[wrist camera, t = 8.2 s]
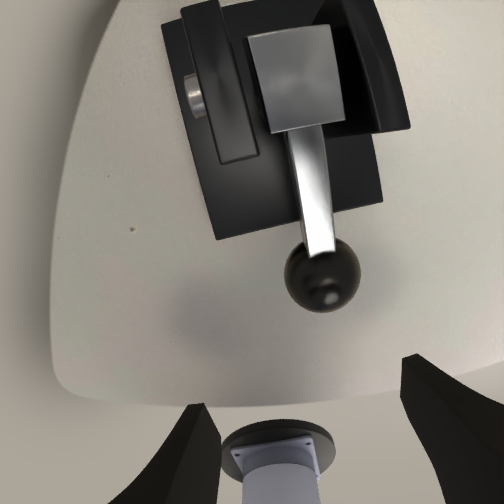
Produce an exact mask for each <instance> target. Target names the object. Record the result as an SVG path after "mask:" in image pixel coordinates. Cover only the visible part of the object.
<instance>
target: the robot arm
mask: <svg viewBox="0 0 504 504" xmlns="http://www.w3.org/2000/svg"><path fill="white" fill-rule="evenodd" d="M400 398H401V401H402V403H403V406H404V409H405V411H406V414H407V416H408V419H409V421H410V423H411V424H412V426H413V428H414V430H415V432H416V434H417V436H418V438H419V440H420V441H421V443H422V445H423V447H424V449H425V451H426V453H427V455H428V457H429V458H430V460H431V462H432V464H433V467H434V469H435V471H436V475H437V477H438V480H439V483H440V486H441V489H442V492H443V496H444V499H445V503H446V504H504V405H503V404H501V403H499V402H496V401H494V400H492V399H489V398H487V397H485V396H483V395H481V394H479V393H478V392H476V391H474V390H472V389H470V388H468V387H467V386H465V385H463V384H462V383H460V382H459V381H457V380H455V379H454V378H452V377H451V376H449V375H448V374H446V373H445V372H443V371H442V370H440V369H439V368H438V367H436V366H435V365H433V364H432V363H430V362H429V361H428V360H426V359H425V358H423V357H422V356H420V355H419V354H414V355H411V356H408V357H405V358H402V374H401V390H400ZM231 454H232V456H233V457H234V459H235V461H236V463H237V465H238V466H239V468H240V470H241V472H242V474H243V497H242V498H243V499H242V504H320V498H319V492H318V486H317V481H320V479H321V476H320V471H319V466H318V461H317V456H316V452H315V447H314V442H313V437H312V436H310V435H306V436H301V437H296V438H291V439H286V440H280V441H275V442H268V443H262V444H255V445H248V446H240V447H233V448H231ZM220 469H221V436H220V434H219V432H218V430H217V428H216V426H215V424H214V422H213V420H212V418H211V416H210V414H209V412H208V410H207V408H206V406H205V404H204V403H199V404H190V405H188V406H187V407H186V409H185V410H184V412H183V413H182V415H181V417H180V418H179V420H178V421H177V423H176V425H175V426H174V428H173V430H172V431H171V433H170V434H169V435H168V437H167V439H166V440H165V441H164V443H163V444H162V446H161V447H160V449H159V450H158V452H157V453H156V454H155V456H154V457H153V458H152V459H151V461H150V462H149V463H148V465H147V466H146V467H145V468H144V469H143V471H142V472H141V473H140V474H139V475H138V476H137V477H136V478H135V480H134V481H133V482H132V483H131V484H130V485H129V486H128V487H127V488H126V489H124V490H123V491H122V492H121V493H120V494H119V495H118V496H117V497H115V498H114V499H113V500H112V501H111V502H109V503H108V504H216V503H217V495H218V486H219V478H220Z"/></svg>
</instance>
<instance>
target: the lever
mask: <svg viewBox="0 0 504 504" xmlns="http://www.w3.org/2000/svg"><path fill="white" fill-rule="evenodd" d="M241 40H242V44H243V48H244V52H245V56H246V60H247V63H248V67H249V71H250V75H251V79H252V83H253V87H254V91H255V96H256V100H257V104H258V108H259V112H260V115H261V117H262V119H263V121H264V123H265V125H266V127H267V129H268V131H269V133H270V134H275V133H280V132H283V134H284V139H285V144H286V149H287V154H288V159H289V165H290V170H291V175H292V180H293V186H294V191H295V197H296V203H297V208H298V214H299V220H300V226H301V232H302V238H303V241H302V242H301V243H299V244H298V245H297V246H296V247H295V248H294V249H293V250H292V252H291V253H290V255H289V257H288V259H287V261H286V265H285V270H284V279H285V284H286V287H287V290H288V292H289V294H290V296H291V297H292V298H293V300H294V301H295V302H296V303H297V304H298V305H300V306H301V307H303V308H305V309H307V310H309V311H312V312H317V313H328V312H333V311H336V310H338V309H340V308H342V307H343V306H345V305H346V304H347V303H348V302H349V301H350V300H351V299H352V298H353V297H354V295H355V294H356V292H357V289H358V287H359V284H360V278H361V269H360V264H359V261H358V258H357V256H356V254H355V253H354V251H353V250H352V249H351V248H350V247H349V246H348V245H347V244H346V243H344V242H343V241H341V240H340V239H337V238H335V230H334V219H333V208H332V199H331V190H330V181H329V173H328V165H327V157H326V149H325V142H324V135H323V129H322V124H326V123H332V122H337V121H344V120H346V114H345V106H344V99H343V92H342V85H341V79H340V73H339V67H338V61H337V55H336V50H335V45H334V39H333V34H332V29H331V26H330V25H329V24H324V25H314V26H306V27H298V28H290V29H284V30H278V31H272V32H266V33H261V34H255V35H250V36H246V37H243V38H242V39H241Z"/></svg>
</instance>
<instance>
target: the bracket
mask: <svg viewBox="0 0 504 504" xmlns="http://www.w3.org/2000/svg"><path fill="white" fill-rule="evenodd" d="M180 13H181V17H182V18H180V19H177V20H174V21H171V22H168V23H165V24H162V25H161V30H162V34H163V38H164V43H165V47H166V51H167V55H168V60H169V64H170V68H171V72H172V76H173V80H174V84H175V89H176V93H177V97H178V101H179V105H180V109H181V113H182V116H183V120H184V124H185V128H186V132H187V136H188V140H189V144H190V147H191V151H192V155H193V159H194V162H195V166H196V170H197V174H198V177H199V181H200V185H201V188H202V192H203V196H204V199H205V203H206V206H207V210H208V214H209V217H210V221H211V224H212V228H213V231H214V235H215V238H216V240H221V239H225V238H229V237H233V236H237V235H242V234H246V233H250V232H254V231H258V230H263V229H267V228H271V227H275V226H279V225H284V224H288V223H292V222H297V221H300V220H299V214H298V208H297V203H296V197H295V191H294V186H293V180H292V175H291V170H290V165H289V159H288V154H287V149H286V144H285V139H284V134H283V132H280V133H275V134H270V133H269V131H268V129H267V127H266V125H265V123H264V121H263V119H262V117H261V115H260V112H259V108H258V104H257V100H256V96H255V91H254V87H253V83H252V79H251V75H250V71H249V67H248V63H247V60H246V56H245V52H244V48H243V44H242V40H241V39H242V38H243V37H246V36H250V35H255V34H261V33H266V32H272V31H278V30H284V29H290V28H298V27H306V26H314V25H324V24H329V25H330V26H331V29H332V34H333V39H334V45H335V50H336V55H337V61H338V67H339V73H340V79H341V85H342V92H343V99H344V106H345V114H346V120H344V121H337V122H332V123H326V124H322V129H323V135H324V142H325V149H326V157H327V165H328V173H329V181H330V190H331V199H332V208H333V213H336V212H340V211H345V210H349V209H354V208H358V207H363V206H367V205H372V204H376V203H381V202H383V196H382V190H381V184H380V177H379V172H378V166H377V160H376V155H375V150H374V145H373V140H372V135H371V134H377V133H385V132H392V131H400V130H407V129H410V128H411V125H410V120H409V116H408V111H407V107H406V102H405V98H404V94H403V90H402V86H401V82H400V79H399V75H398V71H397V68H396V64H395V61H394V58H393V54H392V51H391V48H390V45H389V42H388V39H387V36H386V33H385V30H384V27H383V24H382V22H381V19H380V16H379V14H378V11H377V8H376V6H375V3H374V1H373V0H254V1H249V2H243V3H238V4H234V5H229V6H225V7H221V6H220V3H219V1H218V0H209V1H205V2H201V3H197V4H194V5H190V6H187V7H183V8H181V10H180Z"/></svg>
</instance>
